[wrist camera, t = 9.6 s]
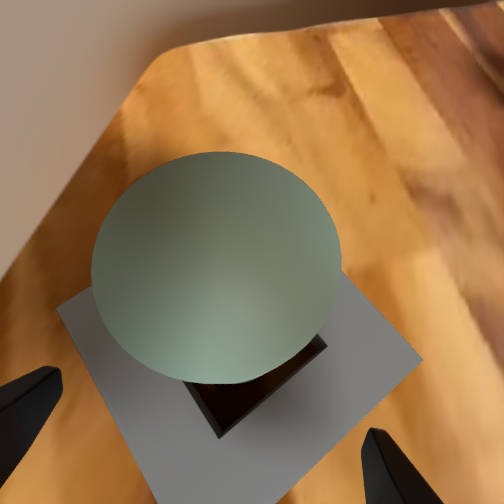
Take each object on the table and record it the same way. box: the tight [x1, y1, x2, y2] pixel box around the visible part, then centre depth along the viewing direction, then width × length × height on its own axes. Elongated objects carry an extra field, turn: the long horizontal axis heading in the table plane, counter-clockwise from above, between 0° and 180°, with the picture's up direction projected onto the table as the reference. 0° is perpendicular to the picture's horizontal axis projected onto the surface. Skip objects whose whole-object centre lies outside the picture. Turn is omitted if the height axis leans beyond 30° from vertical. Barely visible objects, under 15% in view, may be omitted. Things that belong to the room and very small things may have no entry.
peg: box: [91, 152, 342, 384], centre depth 12 cm, size 4×4×13 cm
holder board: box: [56, 271, 423, 504], centre depth 16 cm, size 13×13×2 cm
